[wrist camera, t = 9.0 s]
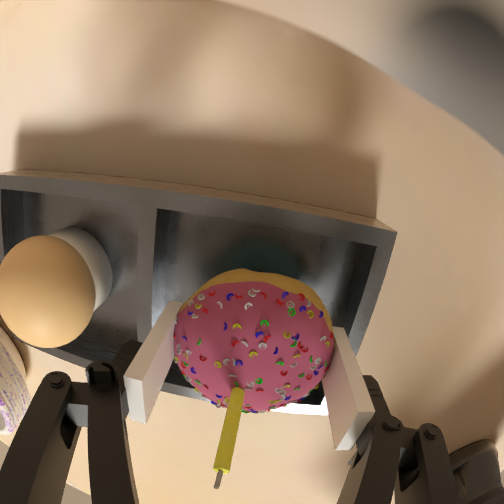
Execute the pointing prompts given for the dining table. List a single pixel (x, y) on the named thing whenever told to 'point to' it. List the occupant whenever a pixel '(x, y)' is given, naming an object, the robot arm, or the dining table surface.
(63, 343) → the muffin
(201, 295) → the cupcake
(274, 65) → the dining table surface
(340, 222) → the divided tray
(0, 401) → the paper bowls
